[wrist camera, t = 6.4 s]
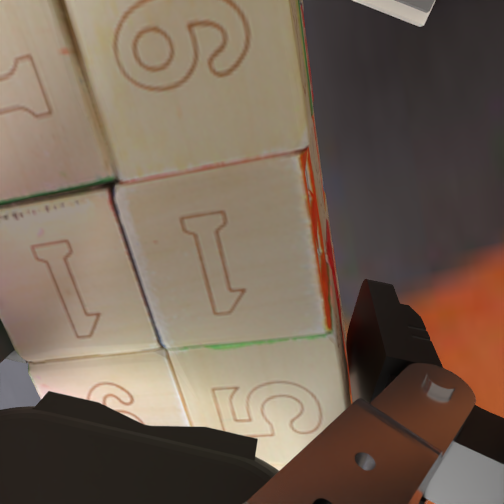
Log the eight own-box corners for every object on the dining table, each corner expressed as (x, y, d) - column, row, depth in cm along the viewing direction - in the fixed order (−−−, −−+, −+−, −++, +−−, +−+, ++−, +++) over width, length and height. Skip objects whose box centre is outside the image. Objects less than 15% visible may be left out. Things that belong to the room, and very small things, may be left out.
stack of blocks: (355, 399, 23) (395, 724, 11) (240, 405, 24) (174, 705, 13) (292, -86, 15) (220, -570, 4) (127, -39, 16) (-305, -296, 5)
